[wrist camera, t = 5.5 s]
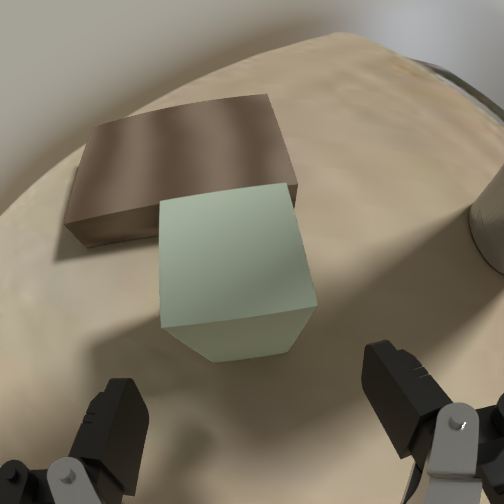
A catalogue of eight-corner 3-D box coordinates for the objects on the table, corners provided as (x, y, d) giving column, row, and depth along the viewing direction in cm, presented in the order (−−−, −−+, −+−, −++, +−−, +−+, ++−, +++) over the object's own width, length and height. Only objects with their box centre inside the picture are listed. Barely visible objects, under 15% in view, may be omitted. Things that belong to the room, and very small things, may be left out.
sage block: (275, 284, 21) (286, 182, 11) (287, 352, 19) (318, 305, 9) (205, 294, 21) (160, 200, 11) (213, 363, 19) (161, 327, 9)
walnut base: (266, 124, 29) (267, 94, 26) (292, 215, 24) (298, 184, 20) (105, 153, 28) (92, 127, 25) (86, 248, 23) (64, 223, 19)
